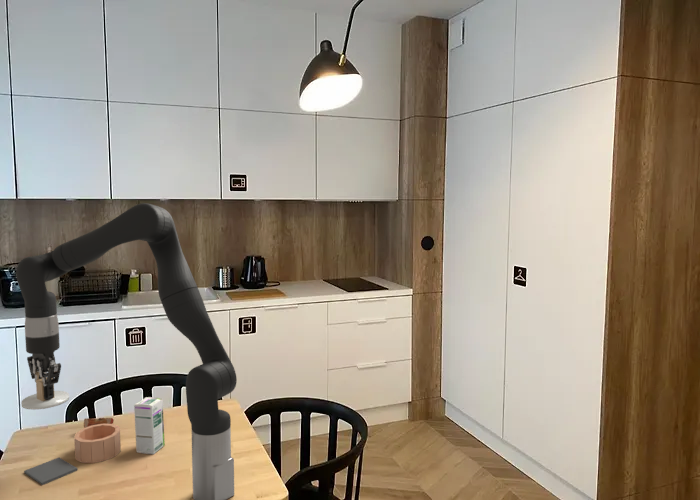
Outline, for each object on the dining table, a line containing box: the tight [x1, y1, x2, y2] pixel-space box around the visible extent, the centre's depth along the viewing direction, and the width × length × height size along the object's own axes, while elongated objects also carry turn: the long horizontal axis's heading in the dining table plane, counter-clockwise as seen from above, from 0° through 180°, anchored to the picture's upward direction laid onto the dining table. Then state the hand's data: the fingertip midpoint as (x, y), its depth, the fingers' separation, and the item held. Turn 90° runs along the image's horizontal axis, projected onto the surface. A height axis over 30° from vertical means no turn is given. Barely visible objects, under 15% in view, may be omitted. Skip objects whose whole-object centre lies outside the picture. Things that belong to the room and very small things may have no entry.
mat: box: [23, 457, 79, 486], centre depth 140 cm, size 10×9×1 cm
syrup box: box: [133, 396, 166, 455], centre depth 152 cm, size 6×6×14 cm
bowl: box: [73, 423, 122, 464], centre depth 150 cm, size 12×12×6 cm
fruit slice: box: [83, 417, 115, 428], centre depth 163 cm, size 8×7×5 cm
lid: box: [21, 377, 70, 411], centre depth 137 cm, size 11×11×6 cm
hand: (45, 397), depth 138 cm, fingers closed on lid, 3 cm apart
